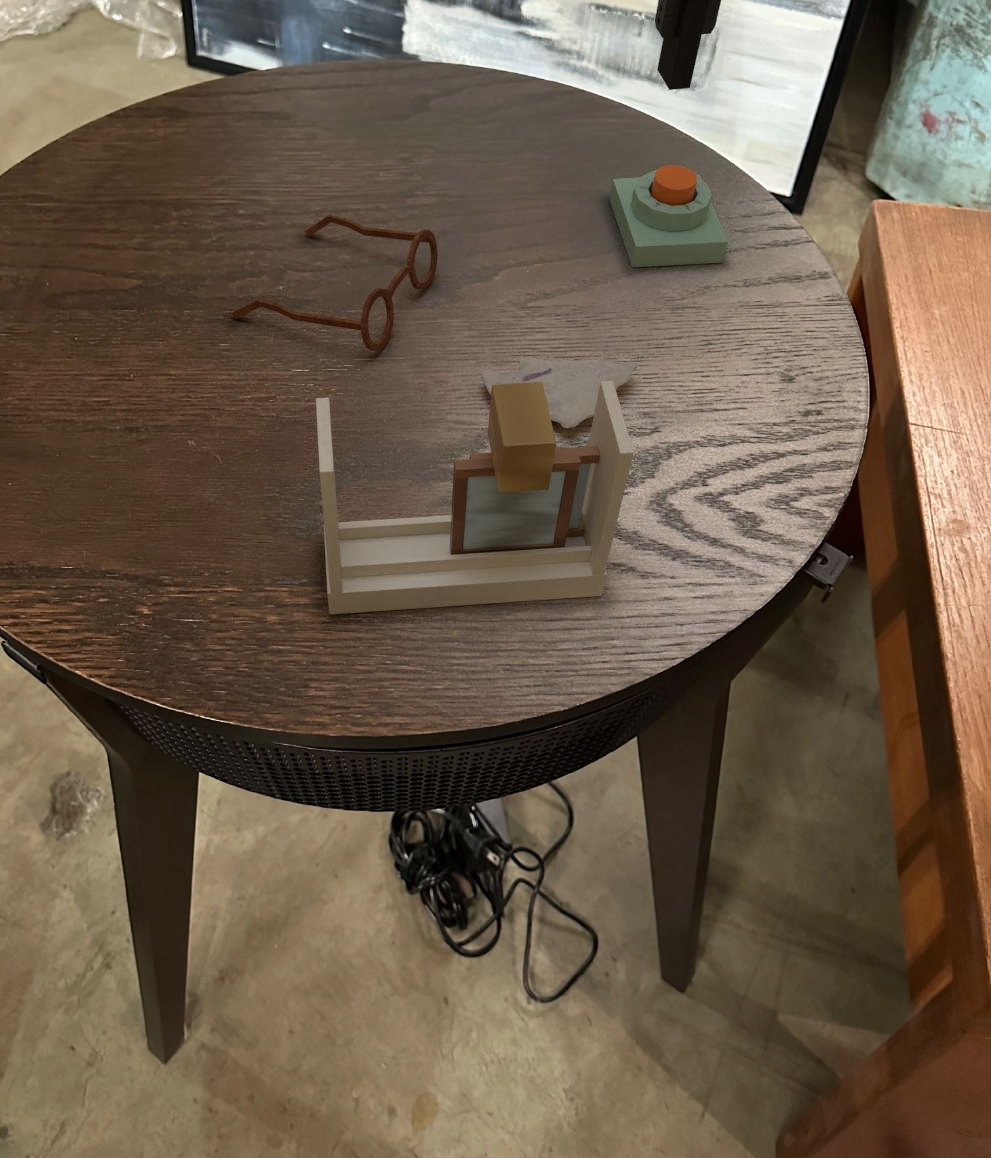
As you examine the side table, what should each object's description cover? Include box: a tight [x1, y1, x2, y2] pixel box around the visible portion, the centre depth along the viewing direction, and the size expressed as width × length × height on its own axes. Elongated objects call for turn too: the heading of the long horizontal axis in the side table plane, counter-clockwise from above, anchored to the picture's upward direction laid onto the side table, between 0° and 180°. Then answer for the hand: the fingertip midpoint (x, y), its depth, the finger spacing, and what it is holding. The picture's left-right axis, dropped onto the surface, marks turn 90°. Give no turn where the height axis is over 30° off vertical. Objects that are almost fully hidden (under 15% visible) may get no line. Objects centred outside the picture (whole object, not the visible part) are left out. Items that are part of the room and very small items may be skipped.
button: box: [651, 164, 697, 206], centre depth 95 cm, size 4×4×2 cm
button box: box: [609, 169, 729, 268], centre depth 97 cm, size 8×10×4 cm
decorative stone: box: [480, 356, 638, 429], centre depth 85 cm, size 8×12×3 cm
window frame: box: [315, 381, 635, 615], centre depth 70 cm, size 18×6×14 cm, turn 95°
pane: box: [449, 382, 581, 555], centre depth 68 cm, size 8×5×13 cm, turn 95°
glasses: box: [231, 214, 439, 352], centre depth 91 cm, size 13×13×5 cm
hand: (673, 78), depth 77 cm, fingers closed
